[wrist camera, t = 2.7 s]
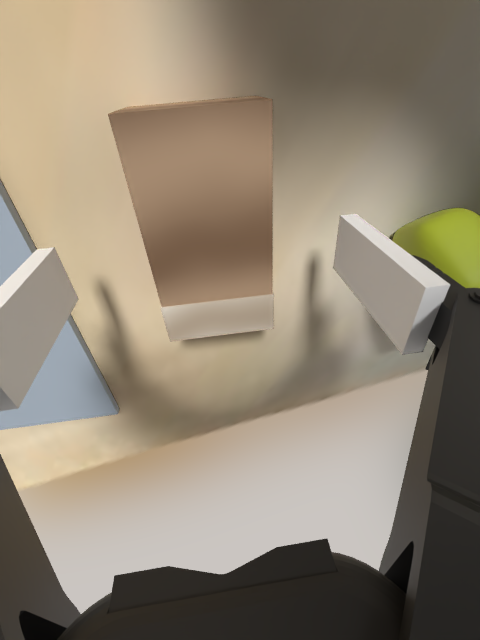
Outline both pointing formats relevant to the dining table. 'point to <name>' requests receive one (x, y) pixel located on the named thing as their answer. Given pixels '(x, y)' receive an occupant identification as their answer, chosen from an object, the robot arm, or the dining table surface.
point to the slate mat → (51, 351)
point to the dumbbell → (446, 243)
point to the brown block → (204, 209)
